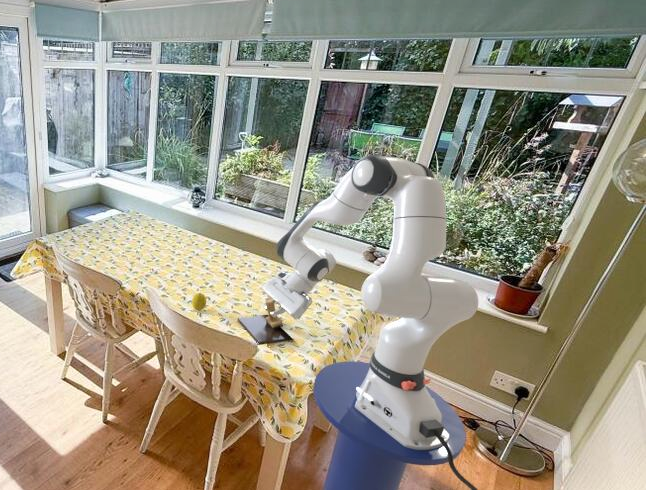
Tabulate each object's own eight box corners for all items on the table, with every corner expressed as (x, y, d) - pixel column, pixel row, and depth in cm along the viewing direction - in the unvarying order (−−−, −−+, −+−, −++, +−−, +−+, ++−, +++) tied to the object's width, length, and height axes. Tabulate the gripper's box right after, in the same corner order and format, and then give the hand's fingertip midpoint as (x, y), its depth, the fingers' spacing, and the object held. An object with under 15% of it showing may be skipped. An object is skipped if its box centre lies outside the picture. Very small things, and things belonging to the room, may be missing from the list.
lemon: (191, 313, 162) (192, 295, 159) (191, 305, 167) (193, 288, 164) (205, 314, 161) (207, 297, 158) (205, 307, 166) (207, 290, 163)
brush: (283, 326, 150) (277, 301, 146) (273, 330, 150) (267, 305, 145) (275, 318, 155) (270, 294, 150) (266, 323, 154) (260, 298, 150)
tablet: (308, 338, 148) (308, 335, 148) (258, 345, 143) (259, 342, 143) (283, 315, 162) (283, 312, 162) (237, 320, 158) (237, 317, 157)
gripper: (319, 305, 140) (289, 333, 142) (285, 279, 159) (259, 303, 160) (310, 295, 138) (279, 323, 139) (276, 269, 156) (250, 294, 157)
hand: (268, 312), depth 150 cm, fingers closed on brush, 3 cm apart
